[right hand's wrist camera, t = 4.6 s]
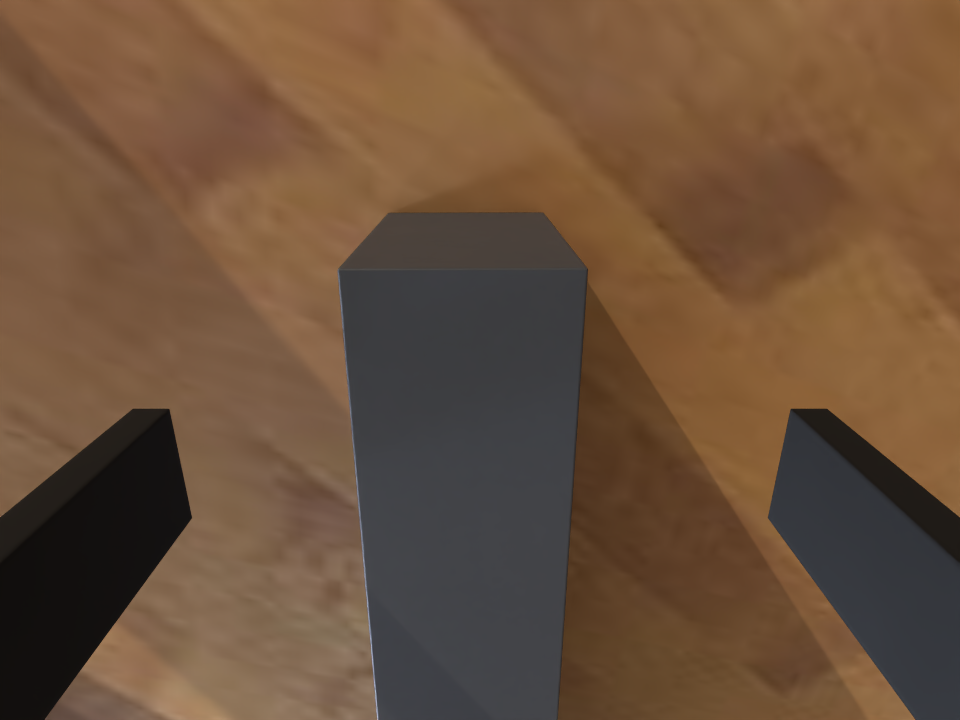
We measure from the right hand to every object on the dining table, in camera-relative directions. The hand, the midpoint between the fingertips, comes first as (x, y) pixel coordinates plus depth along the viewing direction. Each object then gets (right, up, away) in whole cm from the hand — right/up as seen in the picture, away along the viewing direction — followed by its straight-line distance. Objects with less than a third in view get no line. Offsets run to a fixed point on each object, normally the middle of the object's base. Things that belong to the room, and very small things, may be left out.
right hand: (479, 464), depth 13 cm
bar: (0, -17, +16) cm, 23 cm away
